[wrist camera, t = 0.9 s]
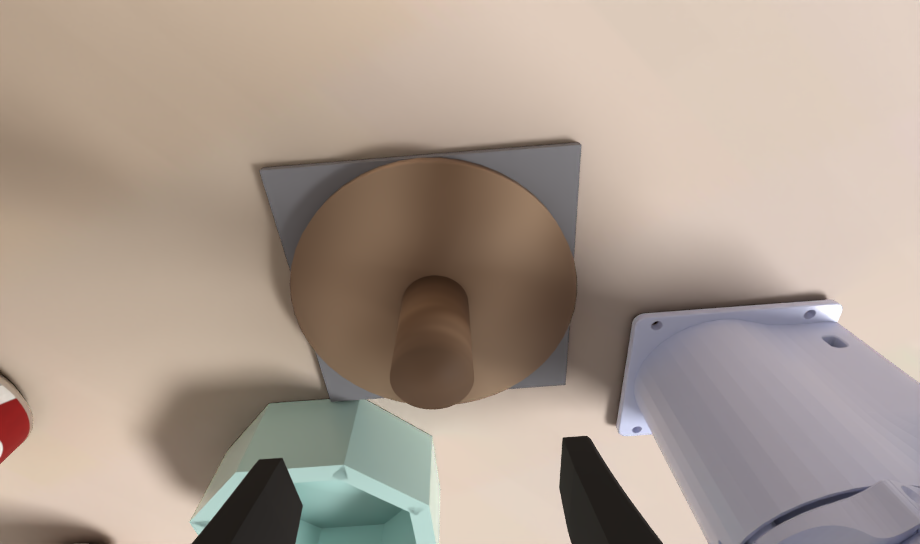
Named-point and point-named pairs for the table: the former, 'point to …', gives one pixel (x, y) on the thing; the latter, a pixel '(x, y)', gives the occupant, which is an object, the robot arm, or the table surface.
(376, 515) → the bowl
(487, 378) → the lid
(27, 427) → the soda can
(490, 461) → the table surface
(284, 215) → the mat
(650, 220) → the table surface
